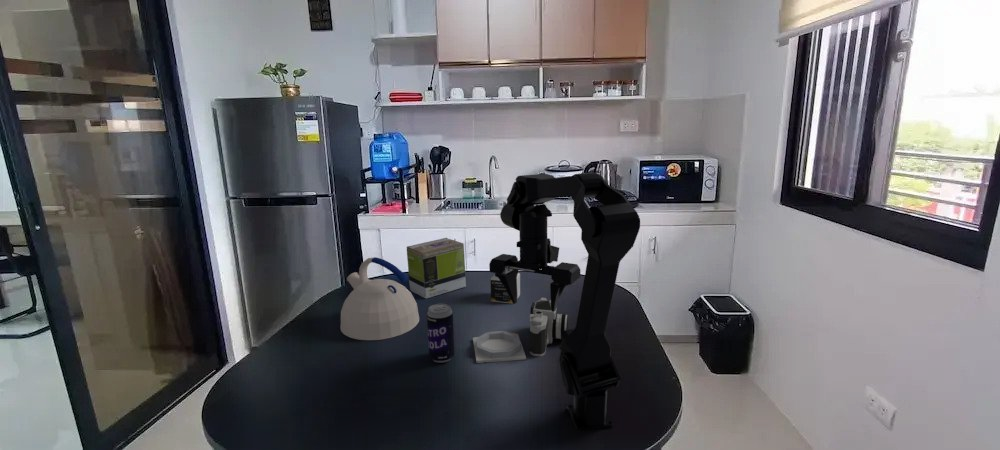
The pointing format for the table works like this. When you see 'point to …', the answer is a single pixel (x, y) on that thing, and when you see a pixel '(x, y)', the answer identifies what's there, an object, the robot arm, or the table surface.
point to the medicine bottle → (502, 290)
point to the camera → (545, 326)
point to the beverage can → (440, 332)
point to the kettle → (378, 305)
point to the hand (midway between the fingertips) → (533, 307)
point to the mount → (498, 347)
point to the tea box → (436, 267)
